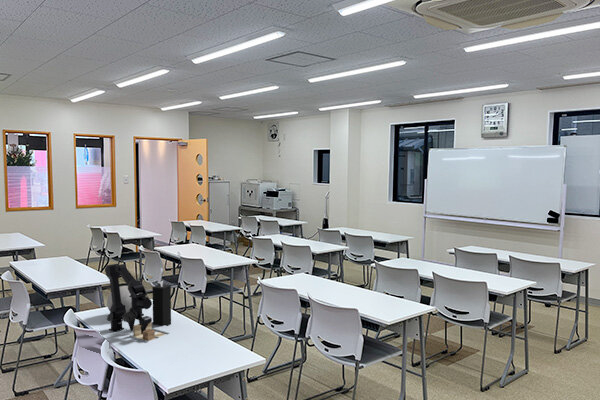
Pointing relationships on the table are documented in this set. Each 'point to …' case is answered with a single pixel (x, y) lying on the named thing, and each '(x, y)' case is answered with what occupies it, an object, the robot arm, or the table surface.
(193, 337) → the table surface
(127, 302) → the moon model
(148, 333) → the cube
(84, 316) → the table surface
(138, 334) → the tan piece
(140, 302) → the robot arm
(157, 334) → the strip broken
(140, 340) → the lane board
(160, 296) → the black rectangular block
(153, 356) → the table surface
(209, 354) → the table surface
